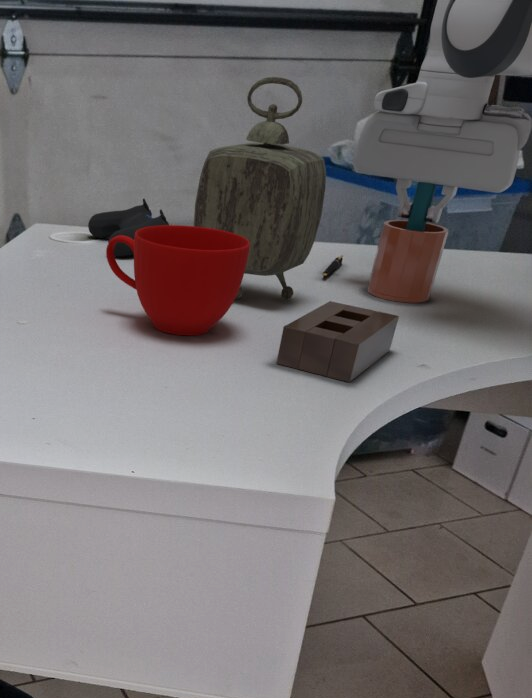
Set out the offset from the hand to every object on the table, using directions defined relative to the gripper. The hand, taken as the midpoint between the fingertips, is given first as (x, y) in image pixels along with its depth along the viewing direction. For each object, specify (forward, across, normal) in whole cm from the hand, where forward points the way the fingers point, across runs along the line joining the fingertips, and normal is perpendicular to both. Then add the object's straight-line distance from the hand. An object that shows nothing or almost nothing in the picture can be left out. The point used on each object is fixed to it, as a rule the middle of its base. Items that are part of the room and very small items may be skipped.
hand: (417, 219), depth 112 cm
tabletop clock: (+10, +16, +18) cm, 26 cm away
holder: (+10, -3, +34) cm, 36 cm away
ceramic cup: (+10, +17, +37) cm, 42 cm away
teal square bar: (+9, 0, 0) cm, 9 cm away
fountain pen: (+10, +12, -6) cm, 17 cm away
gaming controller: (+10, +42, +5) cm, 43 cm away
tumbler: (+10, 0, 0) cm, 10 cm away
